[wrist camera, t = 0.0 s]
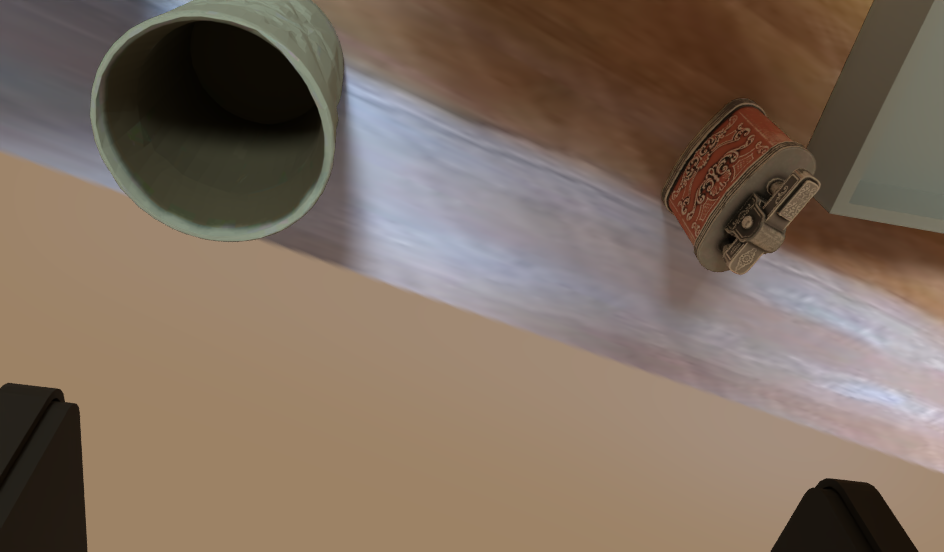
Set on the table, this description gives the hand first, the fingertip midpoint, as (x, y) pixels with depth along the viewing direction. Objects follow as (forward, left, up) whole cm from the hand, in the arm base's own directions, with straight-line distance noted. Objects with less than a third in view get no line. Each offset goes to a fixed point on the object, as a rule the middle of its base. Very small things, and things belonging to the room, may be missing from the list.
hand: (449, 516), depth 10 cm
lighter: (+7, +19, -37) cm, 42 cm away
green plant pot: (+6, -8, -37) cm, 38 cm away
